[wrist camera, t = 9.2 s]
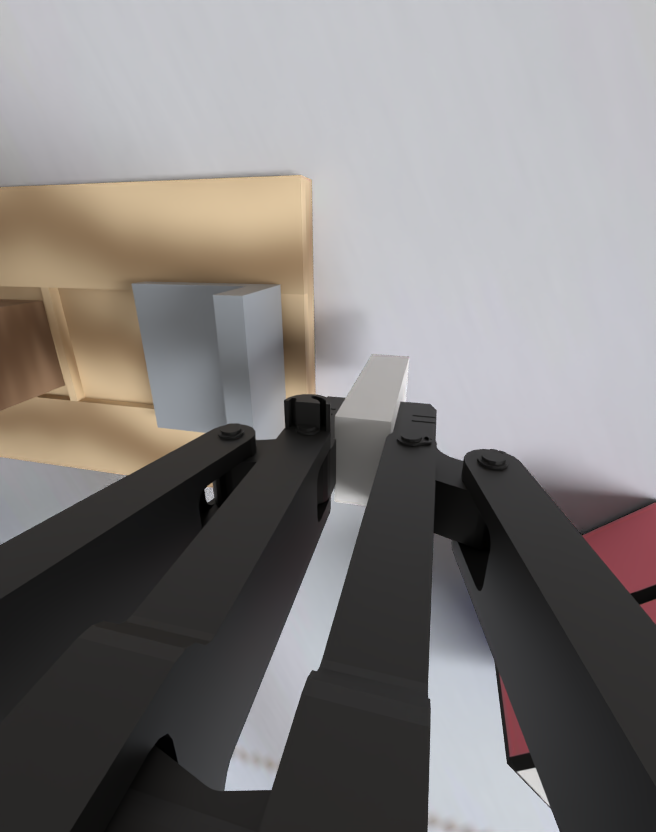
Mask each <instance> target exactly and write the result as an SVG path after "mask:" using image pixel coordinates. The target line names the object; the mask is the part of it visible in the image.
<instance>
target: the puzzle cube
mask: <svg viewBox="0 0 656 832" xmlns="http://www.w3.org/2000/svg"><path fill="white" fill-rule="evenodd" d="M582 536H583V538H584V539H585V540H586V541H587V542H588V544H589V545H590V546H591V547H592V548H593V550H594V551H595V552H596V553H597V554H598V556H599V557H600V558H601V559H602V560H603V562H604V563H605V564H606V565H607V566H608V568H609V569H610V570H611V571H612V572H613V574H614V575H615V576H616V577H617V578H618V580H619V581H620V582H621V583H622V584H623V586H624V587H625V588H626V589H627V590H628V592H629V593H630V594H631V595H632V596H633V598H634V599H635V600H636V601H637V602H638V604H639V605H640V606H641V607H642V608H643V610H644V611H645V612H646V613H647V614H648V616H649V617H650V618H651V619H652V620H653V622H654V623H655V624H656V502H655V503H653V504H651V505H648V506H646V507H644V508H642V509H640V510H637V511H635V512H633V513H631V514H628V515H626V516H624V517H622V518H620V519H617V520H615V521H613V522H611V523H608V524H606V525H604V526H602V527H599V528H597V529H595V530H593V531H591V532H588V533H586V534H584V535H582ZM495 668H496V676H497V685H498V693H499V701H500V709H501V718H502V726H503V734H504V742H505V751H506V759H507V764H508V765H509V766H510V767H511V768H512V769H513V770H514V771H515V772H516V773H517V774H518V775H519V776H520V777H521V778H522V779H523V781H524V782H525V783H526V784H527V785H528V786H529V787H530V788H531V789H532V790H533V791H534V792H535V793H536V794H537V795H538V796H539V797H540V798H541V799H542V800H543V801H544V802H545V803H546V804H547V805H548V806H549V807H550V804H549V802H548V799H547V797H546V794H545V791H544V789H543V786H542V783H541V781H540V778H539V776H538V773H537V770H536V768H535V765H534V763H533V760H532V757H531V755H530V752H529V749H528V747H527V744H526V742H525V739H524V736H523V734H522V731H521V728H520V726H519V723H518V721H517V718H516V715H515V713H514V710H513V708H512V705H511V702H510V700H509V697H508V694H507V692H506V689H505V687H504V684H503V681H502V679H501V676H500V673H499V671H498V668H497V666H496V663H495ZM550 808H551V807H550Z"/></svg>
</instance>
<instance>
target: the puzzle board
mask: <svg viewBox="0 0 656 832" xmlns="http://www.w3.org/2000/svg"><path fill="white" fill-rule="evenodd" d="M139 282H189V283H234V284H279V285H280V287H281V308H282V328H283V349H284V370H285V391H286V399H287V398H288V397H291V396H295V395H301V394H315V343H314V287H313V231H312V180H311V179H309V178H306V177H304V176H302V175H291V176H266V177H241V178H216V179H192V180H167V181H142V182H117V183H92V184H67V185H43V186H18V187H0V299H10V300H38V301H43V304H44V307H45V311H46V315H47V319H48V322H49V326H50V330H51V334H52V337H53V341H54V345H55V349H56V352H57V356H58V360H59V364H60V367H61V371H62V375H63V379H64V382H65V386H62V387H60V388H57V389H55V390H52V391H50V392H47V393H45V394H42V395H40V396H37V397H35V398H32V399H29V400H27V401H24V402H22V403H19V404H17V405H14V406H12V407H9V408H7V409H4V410H2V411H0V457H4V458H11V459H18V460H25V461H32V462H39V463H46V464H53V465H60V466H66V467H73V468H80V469H87V470H94V471H101V472H108V473H115V474H122V475H130V474H131V473H133V472H135V471H137V470H139V469H141V468H142V467H144V466H146V465H148V464H150V463H152V462H154V461H155V460H157V459H159V458H161V457H163V456H165V455H166V454H168V453H170V452H172V451H174V450H176V449H177V448H179V447H181V446H183V445H185V444H187V443H188V442H190V441H192V440H194V439H196V438H198V437H199V436H201V435H203V434H205V433H202V432H193V431H185V430H176V429H167V428H158V426H157V421H156V415H155V410H154V404H153V399H152V393H151V388H150V382H149V377H148V371H147V366H146V360H145V355H144V349H143V344H142V338H141V333H140V327H139V322H138V316H137V311H136V305H135V300H134V294H133V289H132V283H139ZM207 487H212V488H213V483H211V484H210V485H208V486H207Z"/></svg>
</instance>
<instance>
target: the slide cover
mask: <svg viewBox="0 0 656 832" xmlns="http://www.w3.org/2000/svg"><path fill="white" fill-rule="evenodd" d="M132 289H133V294H134V300H135V305H136V311H137V316H138V322H139V327H140V333H141V338H142V344H143V349H144V355H145V360H146V366H147V371H148V377H149V382H150V388H151V393H152V399H153V404H154V410H155V415H156V421H157V426H158V428H167V429H176V430H185V431H193V432H202V433H207V432H209V431H210V430H212V429H214V428H217V427H219V426H224V425H227V424H230V423H233V424H234V423H239V424H242V425H248V426H250V427H252V428H253V429H254V430H255V432H256V440H267V439H276V438H277V437H278V436H279V434H280V433H281V432H282V431H283V429H284V428H285V415H284V400H285V399H286V391H285V370H284V349H283V328H282V308H281V287H280V285H279V284H234V283H189V282H139V283H132Z"/></svg>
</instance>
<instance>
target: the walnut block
mask: <svg viewBox="0 0 656 832" xmlns="http://www.w3.org/2000/svg"><path fill="white" fill-rule="evenodd" d="M62 386H65V382H64V379H63V375H62V371H61V367H60V364H59V360H58V356H57V352H56V349H55V345H54V341H53V337H52V334H51V330H50V326H49V322H48V319H47V315H46V311H45V307H44V304H43V301H38V300H10V299H0V411H2V410H4V409H7V408H9V407H12V406H14V405H17V404H19V403H22V402H24V401H27V400H29V399H32V398H35V397H37V396H40V395H42V394H45V393H47V392H50V391H52V390H55V389H57V388H60V387H62Z"/></svg>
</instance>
